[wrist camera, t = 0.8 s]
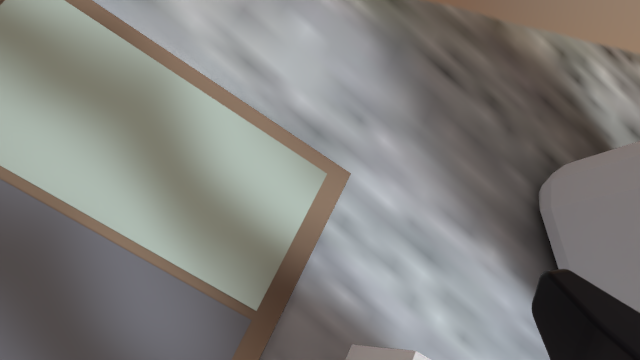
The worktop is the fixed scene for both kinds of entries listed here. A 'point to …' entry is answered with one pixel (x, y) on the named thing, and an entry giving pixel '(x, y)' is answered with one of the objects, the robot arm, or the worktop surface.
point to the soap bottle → (598, 220)
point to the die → (382, 354)
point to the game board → (141, 198)
